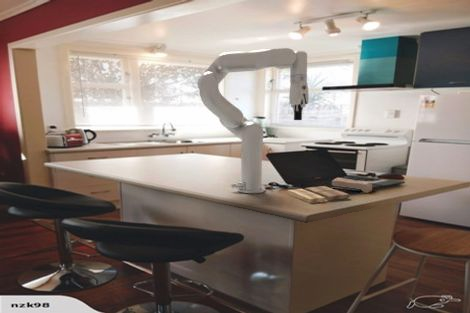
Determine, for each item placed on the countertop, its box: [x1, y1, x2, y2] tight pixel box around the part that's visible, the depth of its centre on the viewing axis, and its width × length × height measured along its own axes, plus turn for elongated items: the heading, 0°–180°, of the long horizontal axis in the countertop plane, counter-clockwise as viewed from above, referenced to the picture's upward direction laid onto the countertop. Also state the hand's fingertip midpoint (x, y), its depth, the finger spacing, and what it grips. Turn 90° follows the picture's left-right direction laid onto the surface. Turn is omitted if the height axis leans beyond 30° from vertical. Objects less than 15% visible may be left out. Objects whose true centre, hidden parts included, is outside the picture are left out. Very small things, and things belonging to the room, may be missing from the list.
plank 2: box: [316, 189, 350, 200], centre depth 146 cm, size 10×9×2 cm
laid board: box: [286, 188, 328, 204], centre depth 147 cm, size 8×18×2 cm, turn 20°
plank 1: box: [304, 185, 336, 194], centre depth 154 cm, size 10×9×2 cm
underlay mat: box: [297, 197, 351, 204], centre depth 149 cm, size 20×18×1 cm
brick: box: [331, 177, 373, 194], centre depth 163 cm, size 17×8×5 cm, turn 55°
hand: (297, 120), depth 162 cm, fingers closed
